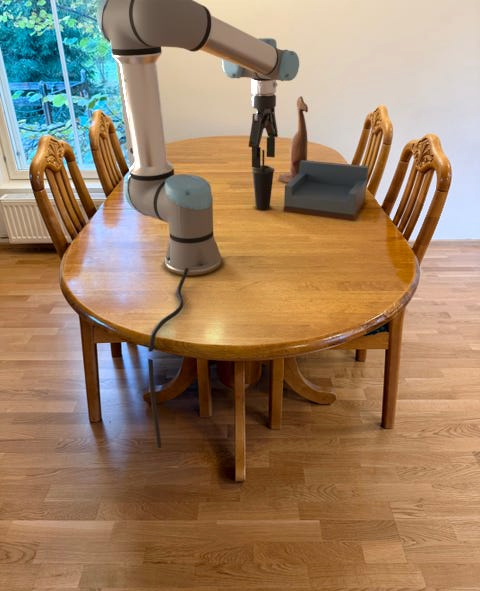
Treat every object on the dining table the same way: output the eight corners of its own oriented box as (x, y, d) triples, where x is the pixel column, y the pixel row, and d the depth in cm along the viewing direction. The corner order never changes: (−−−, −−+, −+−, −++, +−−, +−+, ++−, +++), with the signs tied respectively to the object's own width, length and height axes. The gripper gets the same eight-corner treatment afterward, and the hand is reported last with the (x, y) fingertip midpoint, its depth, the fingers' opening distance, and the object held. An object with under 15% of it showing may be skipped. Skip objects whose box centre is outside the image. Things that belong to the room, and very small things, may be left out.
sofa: (353, 220, 160) (357, 181, 153) (283, 211, 168) (285, 173, 162) (364, 202, 175) (368, 166, 168) (300, 194, 183) (302, 159, 177)
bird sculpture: (297, 187, 191) (302, 100, 175) (277, 180, 199) (279, 96, 182) (317, 181, 197) (323, 96, 181) (296, 175, 205) (300, 93, 188)
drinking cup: (271, 212, 168) (273, 153, 157) (250, 211, 169) (249, 152, 159) (275, 204, 174) (276, 147, 164) (253, 203, 175) (254, 146, 165)
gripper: (260, 101, 142) (260, 173, 152) (288, 88, 161) (286, 153, 172) (237, 99, 144) (238, 171, 155) (266, 88, 164) (266, 151, 175)
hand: (263, 162), depth 164 cm, fingers open, 13 cm apart
